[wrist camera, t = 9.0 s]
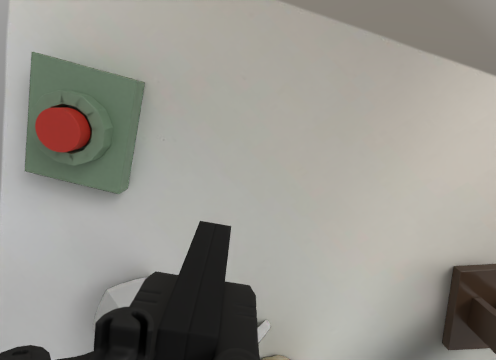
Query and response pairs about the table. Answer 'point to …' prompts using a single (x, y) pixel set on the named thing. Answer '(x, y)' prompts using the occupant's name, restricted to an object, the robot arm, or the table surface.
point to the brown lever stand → (471, 308)
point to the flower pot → (275, 358)
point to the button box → (98, 116)
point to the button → (62, 129)
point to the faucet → (125, 295)
